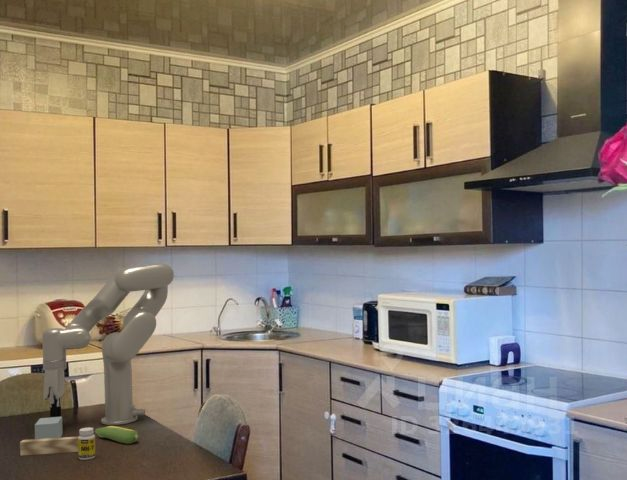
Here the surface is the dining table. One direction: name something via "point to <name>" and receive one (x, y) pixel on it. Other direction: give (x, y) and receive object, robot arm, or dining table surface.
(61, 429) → the block
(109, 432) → the edible corn
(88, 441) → the supplement bottle
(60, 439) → the board
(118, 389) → the robot arm
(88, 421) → the dining table surface
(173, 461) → the dining table surface
